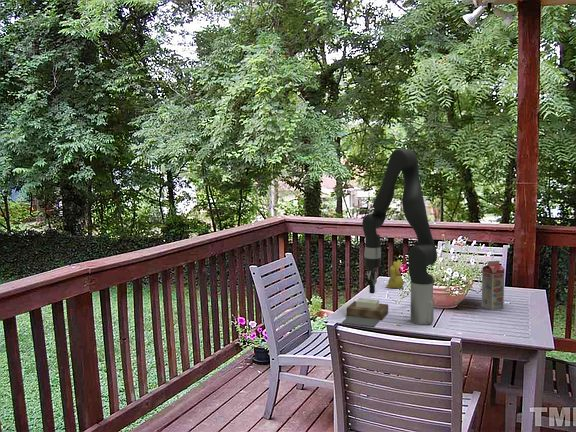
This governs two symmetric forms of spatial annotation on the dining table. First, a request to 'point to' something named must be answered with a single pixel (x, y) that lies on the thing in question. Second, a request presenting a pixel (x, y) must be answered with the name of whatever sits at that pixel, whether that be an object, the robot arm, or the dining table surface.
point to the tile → (367, 303)
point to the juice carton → (493, 286)
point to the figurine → (395, 276)
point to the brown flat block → (367, 311)
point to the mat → (360, 321)
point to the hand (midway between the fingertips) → (372, 292)
